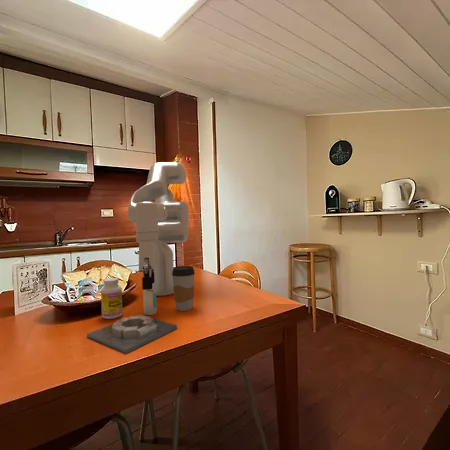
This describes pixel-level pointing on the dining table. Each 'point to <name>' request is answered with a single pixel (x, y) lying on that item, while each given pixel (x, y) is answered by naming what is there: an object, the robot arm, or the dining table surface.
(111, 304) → the supplement bottle
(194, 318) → the dining table surface
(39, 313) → the dining table surface
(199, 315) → the dining table surface
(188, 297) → the coffee cup
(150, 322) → the hub plate
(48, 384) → the dining table surface
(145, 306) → the knob
